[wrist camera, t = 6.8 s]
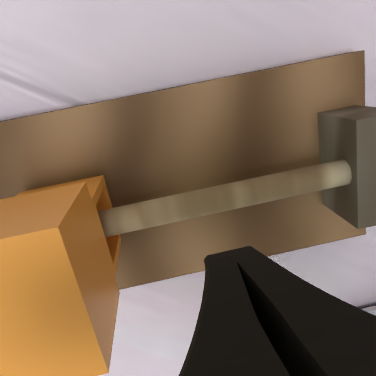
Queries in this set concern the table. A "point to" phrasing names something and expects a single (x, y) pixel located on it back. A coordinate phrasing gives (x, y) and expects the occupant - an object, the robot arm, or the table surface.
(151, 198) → the cord rig
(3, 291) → the orange notched block
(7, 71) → the table surface
